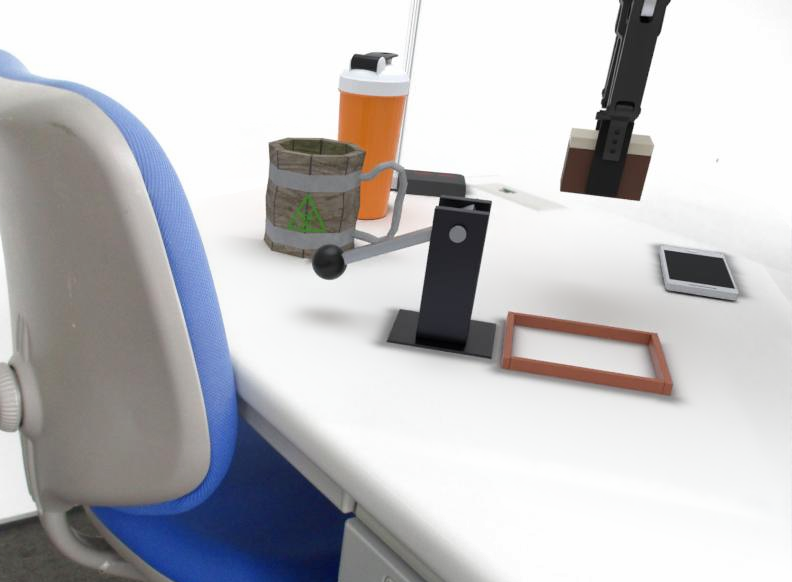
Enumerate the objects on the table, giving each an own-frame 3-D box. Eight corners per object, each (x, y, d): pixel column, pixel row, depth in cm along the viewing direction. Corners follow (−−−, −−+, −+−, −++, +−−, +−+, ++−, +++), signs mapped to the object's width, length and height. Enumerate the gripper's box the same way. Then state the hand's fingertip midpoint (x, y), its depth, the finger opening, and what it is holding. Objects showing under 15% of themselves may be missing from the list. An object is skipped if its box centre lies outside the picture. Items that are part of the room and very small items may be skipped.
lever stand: (385, 352, 77) (404, 209, 71) (398, 320, 84) (416, 187, 78) (489, 369, 75) (517, 223, 69) (493, 335, 82) (520, 199, 76)
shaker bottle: (401, 210, 120) (421, 54, 110) (381, 225, 112) (401, 60, 103) (340, 200, 123) (355, 48, 114) (317, 214, 116) (331, 53, 106)
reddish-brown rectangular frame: (651, 353, 80) (657, 332, 79) (666, 406, 70) (673, 384, 69) (504, 330, 83) (508, 310, 82) (499, 378, 73) (503, 357, 72)
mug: (253, 261, 97) (259, 152, 91) (269, 234, 106) (275, 133, 101) (395, 277, 95) (410, 165, 89) (398, 248, 104) (412, 145, 99)
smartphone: (721, 260, 106) (723, 252, 105) (737, 301, 93) (739, 293, 93) (658, 251, 108) (660, 244, 107) (665, 290, 95) (667, 282, 95)
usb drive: (464, 198, 127) (468, 179, 126) (382, 191, 129) (384, 172, 127) (463, 190, 132) (466, 172, 130) (384, 183, 133) (386, 165, 132)
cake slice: (636, 189, 83) (650, 135, 81) (639, 201, 79) (654, 144, 77) (560, 180, 85) (571, 127, 83) (559, 191, 81) (571, 136, 78)
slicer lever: (314, 288, 79) (303, 255, 78) (322, 277, 81) (311, 245, 80) (480, 243, 73) (470, 207, 72) (483, 233, 75) (473, 198, 74)
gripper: (613, -93, 79) (559, 164, 90) (623, -107, 64) (557, 205, 75) (702, -90, 78) (635, 173, 88) (734, -103, 62) (649, 217, 73)
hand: (599, 187), depth 82 cm, fingers closed on cake slice, 5 cm apart
